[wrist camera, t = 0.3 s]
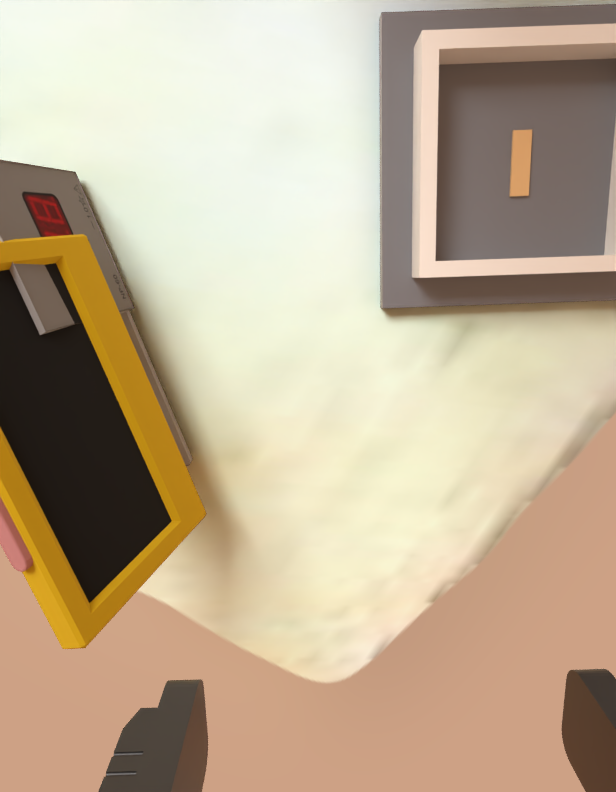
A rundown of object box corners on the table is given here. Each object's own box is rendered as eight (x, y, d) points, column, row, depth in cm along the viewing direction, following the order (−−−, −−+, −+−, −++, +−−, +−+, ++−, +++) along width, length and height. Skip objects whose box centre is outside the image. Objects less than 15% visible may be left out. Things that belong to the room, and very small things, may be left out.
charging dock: (379, 19, 34) (387, -8, 31) (663, 9, 34) (703, -20, 31) (380, 307, 38) (388, 310, 35) (635, 298, 38) (667, 300, 35)
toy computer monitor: (215, 495, 41) (162, 628, 26) (120, 527, 42) (12, 677, 26) (105, 236, 37) (-36, 211, 21) (1, 276, 37) (-210, 279, 22)
